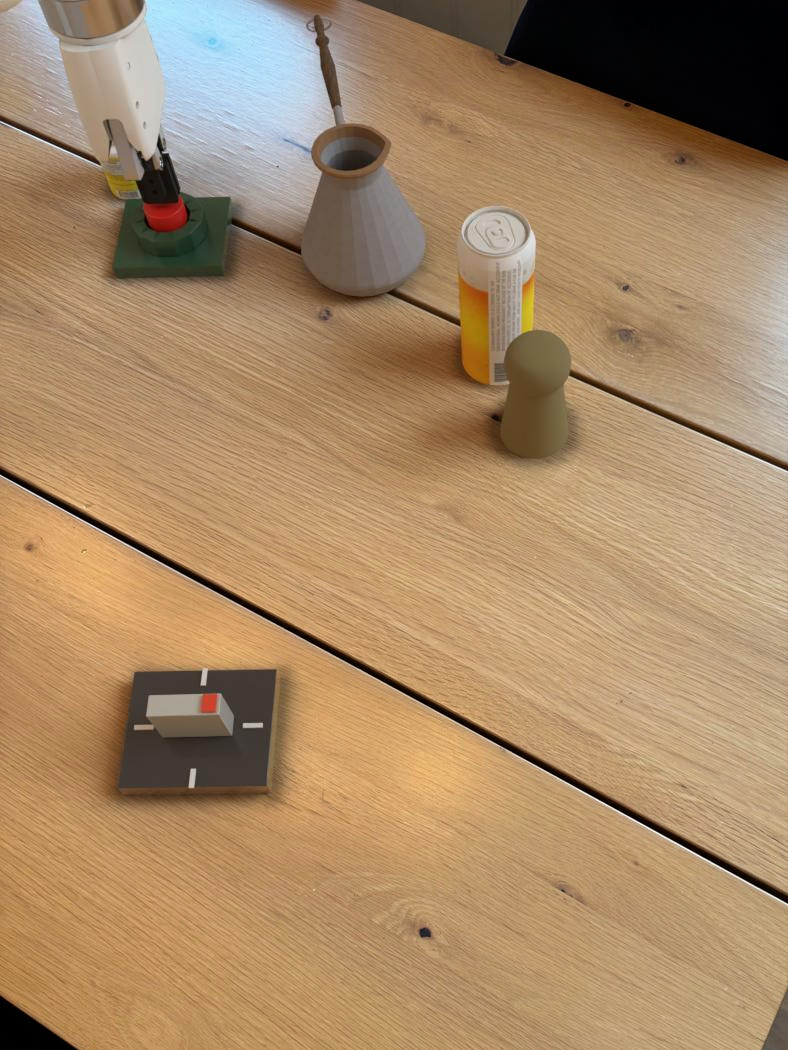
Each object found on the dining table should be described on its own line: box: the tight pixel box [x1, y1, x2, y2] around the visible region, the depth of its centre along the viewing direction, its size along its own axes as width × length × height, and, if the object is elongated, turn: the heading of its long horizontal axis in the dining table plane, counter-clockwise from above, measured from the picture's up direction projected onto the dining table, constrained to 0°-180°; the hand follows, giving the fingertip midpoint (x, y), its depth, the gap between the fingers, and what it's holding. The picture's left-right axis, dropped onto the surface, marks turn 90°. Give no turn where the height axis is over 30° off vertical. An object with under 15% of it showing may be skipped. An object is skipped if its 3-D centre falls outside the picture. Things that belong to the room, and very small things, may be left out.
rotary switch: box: [116, 667, 281, 796], centre depth 76 cm, size 10×9×3 cm
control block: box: [111, 191, 234, 279], centre depth 98 cm, size 10×9×4 cm
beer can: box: [456, 205, 537, 386], centre depth 86 cm, size 6×6×15 cm
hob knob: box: [146, 694, 234, 738], centre depth 73 cm, size 5×2×4 cm, turn 91°
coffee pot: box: [300, 14, 427, 298], centre depth 94 cm, size 21×12×15 cm, turn 13°
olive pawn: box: [499, 329, 572, 460], centre depth 84 cm, size 6×6×11 cm
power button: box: [143, 195, 188, 232], centre depth 96 cm, size 4×4×2 cm
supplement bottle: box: [99, 140, 142, 202], centre depth 100 cm, size 5×5×8 cm
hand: (162, 197), depth 95 cm, fingers closed
